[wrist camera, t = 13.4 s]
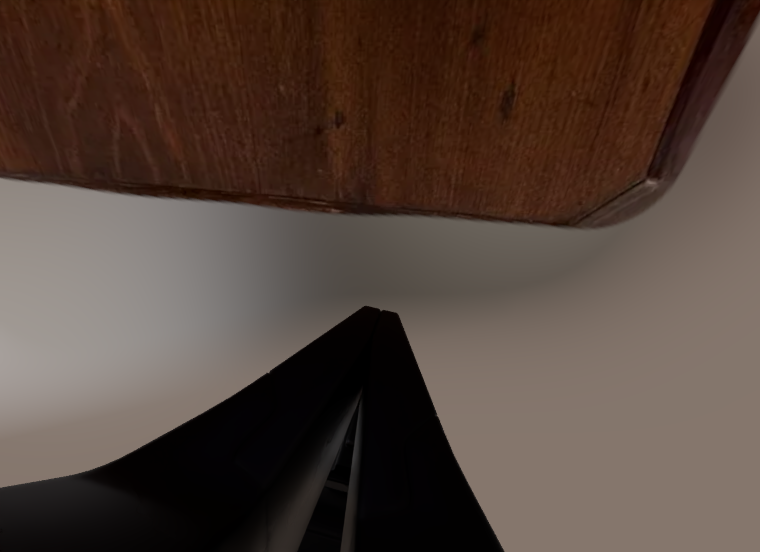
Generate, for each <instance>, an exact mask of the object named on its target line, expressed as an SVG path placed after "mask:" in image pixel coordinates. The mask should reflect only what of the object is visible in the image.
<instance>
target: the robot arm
mask: <svg viewBox="0 0 760 552" xmlns="http://www.w3.org/2000/svg"><path fill="white" fill-rule="evenodd" d="M361 392H362V394H361ZM360 395H361V398H360ZM0 552H504V550H503V548H502V546H501V544H500V542H499V541H498V539H497V537H496V535H495V533H494V531H493V529H492V528H491V526H490V524H489V522H488V520H487V518H486V516H485V514H484V512H483V510H482V509H481V507H480V505H479V503H478V501H477V499H476V497H475V496H474V494H473V492H472V490H471V488H470V486H469V484H468V482H467V480H466V478H465V476H464V474H463V472H462V470H461V468H460V466H459V464H458V462H457V460H456V458H455V456H454V454H453V452H452V449H451V447H450V445H449V442H448V440H447V438H446V436H445V433H444V430H443V428H442V425H441V423H440V420H439V418H438V416H437V413H436V410H435V408H434V405H433V403H432V400H431V397H430V395H429V392H428V390H427V387H426V385H425V382H424V379H423V377H422V374H421V372H420V369H419V367H418V364H417V362H416V359H415V356H414V354H413V351H412V349H411V346H410V344H409V341H408V338H407V336H406V333H405V331H404V328H403V326H402V323H401V320H400V318H399V315H398V314H397V313H394V312H390V311H386V310H382V311H380V309H378V308H373V307H369V306H364V307H362V308H361V309H359V310H358V311H356V312H355V313H354V314H352V315H351V316H349V317H348V318H346V319H345V320H344V321H342V322H341V323H339V324H338V325H336V326H335V327H333V328H332V329H330V330H329V331H327V332H326V333H325V334H323V335H322V336H320V337H319V338H317V339H316V340H314V341H313V342H312V343H310V344H309V345H307V346H306V347H304V348H303V349H301V350H300V351H298V352H297V353H296V354H294V355H293V356H291V357H290V358H288V359H287V360H285V361H284V362H282V363H281V364H279V365H278V366H277V367H275V368H274V369H272V370H271V371H270V372H269V373H266V374H265V375H263V376H262V377H260V378H259V379H257V380H256V381H255V382H253V383H251V384H250V385H248V386H247V387H245V388H244V389H242V390H241V391H239V392H238V393H236V394H234V395H233V396H231V397H230V398H228V399H226V400H224V401H223V402H221V403H219V404H218V405H216V406H214V407H213V408H211V409H209V410H207V411H206V412H204V413H202V414H201V415H198V416H197V417H195V418H193V419H191V420H189V421H187V422H186V423H184V424H182V425H180V426H178V427H177V428H175V429H173V430H171V431H170V432H168V433H166V434H164V435H162V436H160V437H158V438H157V439H155V440H153V441H151V442H149V443H148V444H146V445H144V446H142V447H140V448H138V449H137V450H135V451H133V452H131V453H129V454H127V455H125V456H123V457H122V458H119V459H117V460H115V461H113V462H110V463H108V464H106V465H103V466H100V467H98V468H95V469H93V470H90V471H86V472H82V473H79V474H75V475H70V476H66V477H59V478H54V479H48V480H42V481H37V482H31V483H25V484H19V485H14V486H8V487H2V488H0Z"/></svg>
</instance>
